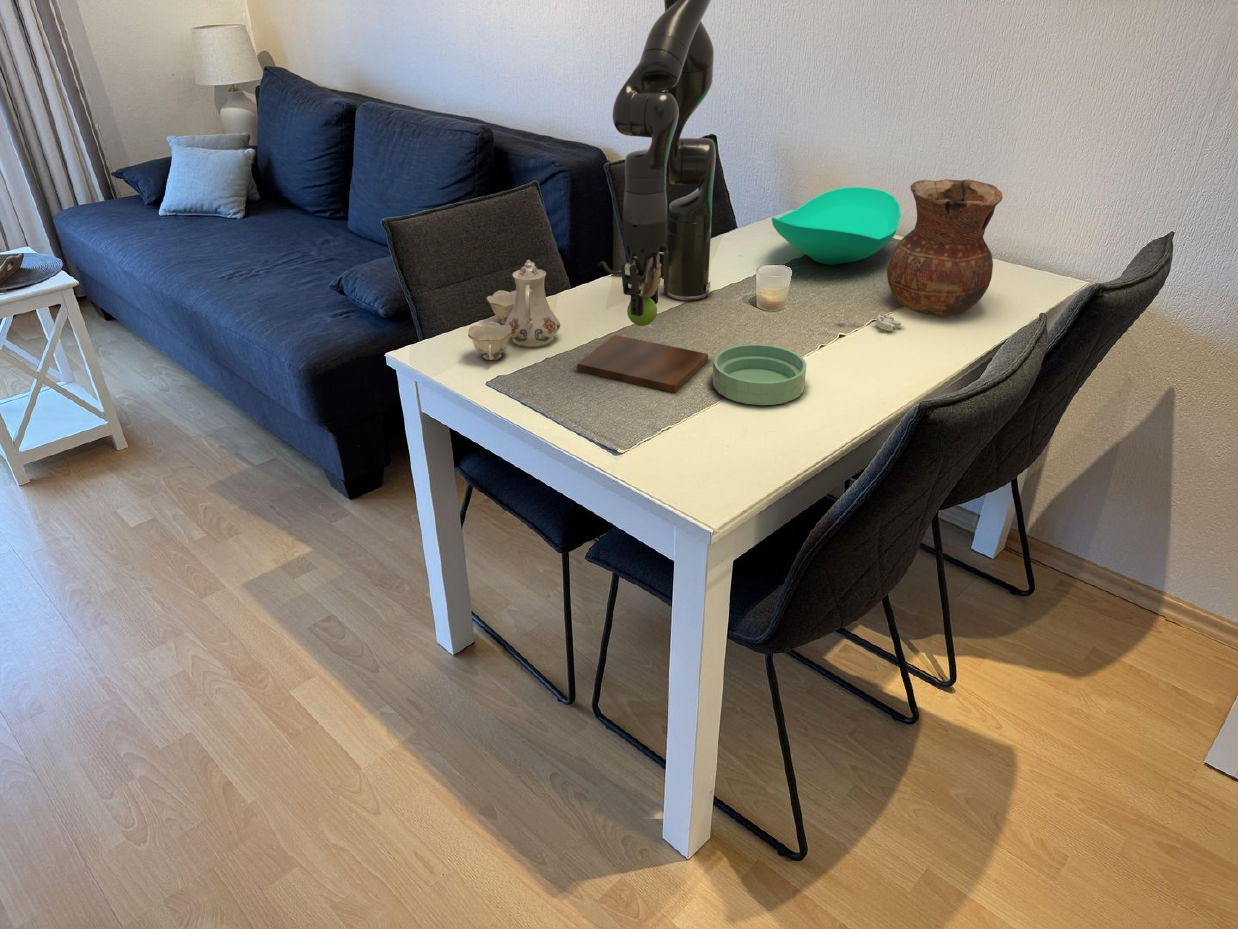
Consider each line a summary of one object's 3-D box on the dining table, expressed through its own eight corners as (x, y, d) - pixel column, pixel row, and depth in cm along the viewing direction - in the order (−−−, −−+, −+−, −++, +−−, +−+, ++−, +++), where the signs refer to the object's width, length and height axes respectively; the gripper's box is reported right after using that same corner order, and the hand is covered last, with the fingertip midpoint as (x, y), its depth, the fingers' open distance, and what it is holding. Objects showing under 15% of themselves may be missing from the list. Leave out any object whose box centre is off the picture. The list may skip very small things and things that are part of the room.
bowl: (698, 394, 154) (699, 371, 152) (732, 359, 166) (733, 337, 164) (786, 414, 148) (789, 390, 145) (815, 376, 160) (818, 354, 158)
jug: (973, 331, 177) (1000, 207, 164) (870, 312, 186) (888, 193, 173) (992, 296, 193) (1018, 180, 180) (897, 280, 202) (915, 169, 189)
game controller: (904, 331, 177) (906, 319, 176) (850, 336, 175) (852, 324, 174) (892, 321, 182) (894, 309, 180) (839, 325, 180) (841, 313, 179)
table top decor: (847, 295, 194) (855, 236, 188) (740, 270, 209) (744, 214, 202) (916, 249, 221) (925, 196, 214) (817, 230, 236) (822, 180, 229)
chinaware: (488, 319, 188) (473, 243, 180) (565, 310, 188) (553, 234, 179) (471, 376, 165) (452, 293, 156) (558, 367, 164) (545, 282, 155)
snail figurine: (652, 333, 157) (652, 268, 150) (621, 326, 160) (621, 262, 153) (666, 323, 161) (668, 260, 154) (636, 317, 164) (637, 254, 157)
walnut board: (577, 370, 163) (576, 363, 162) (615, 341, 174) (615, 334, 173) (674, 393, 155) (675, 385, 154) (708, 360, 166) (708, 353, 165)
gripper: (644, 203, 157) (643, 293, 165) (605, 223, 146) (607, 319, 155) (682, 208, 154) (679, 299, 162) (646, 229, 143) (645, 326, 152)
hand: (644, 308), depth 159 cm, fingers closed on snail figurine, 5 cm apart
